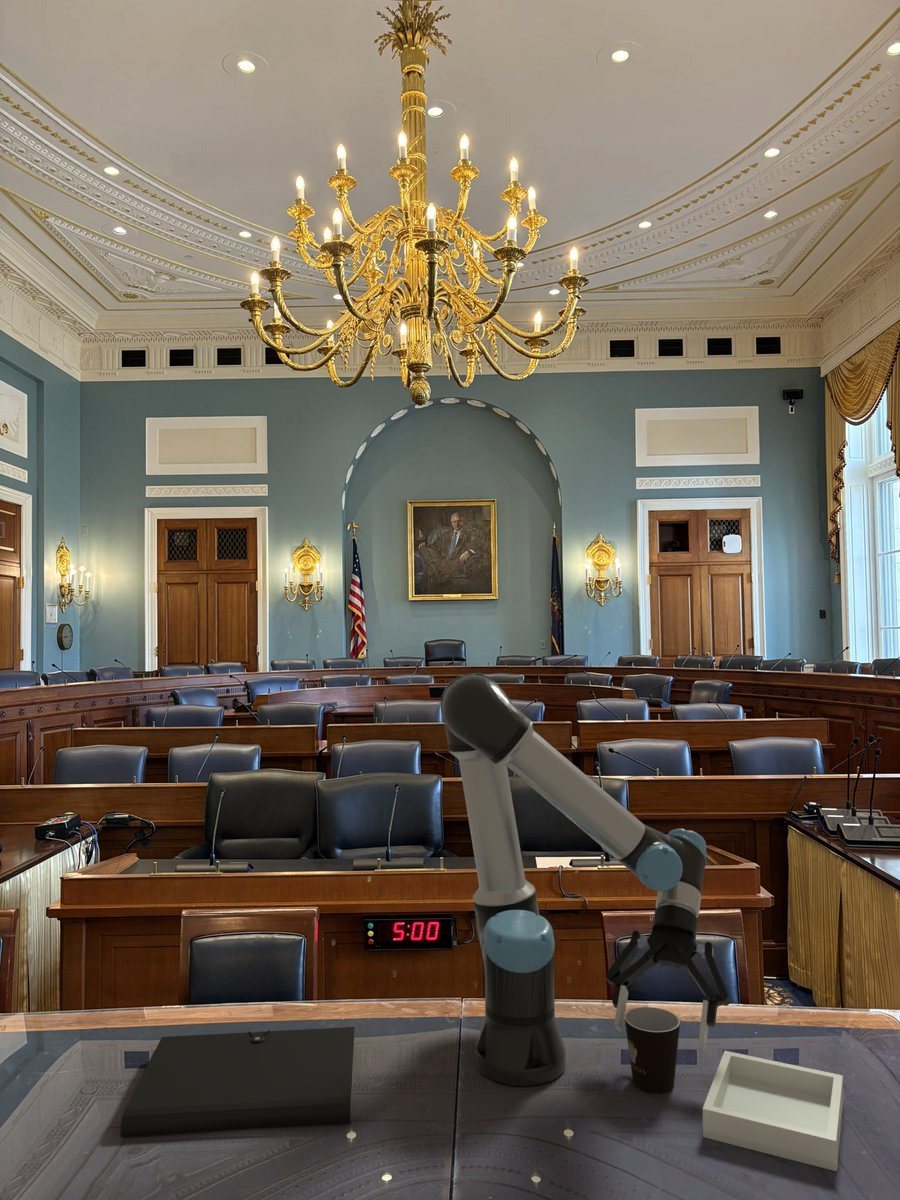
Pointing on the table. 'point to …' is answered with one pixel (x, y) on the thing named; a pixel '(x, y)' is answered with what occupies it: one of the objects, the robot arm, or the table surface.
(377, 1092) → the table surface
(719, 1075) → the white storage tray
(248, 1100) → the file folder
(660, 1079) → the coffee mug
